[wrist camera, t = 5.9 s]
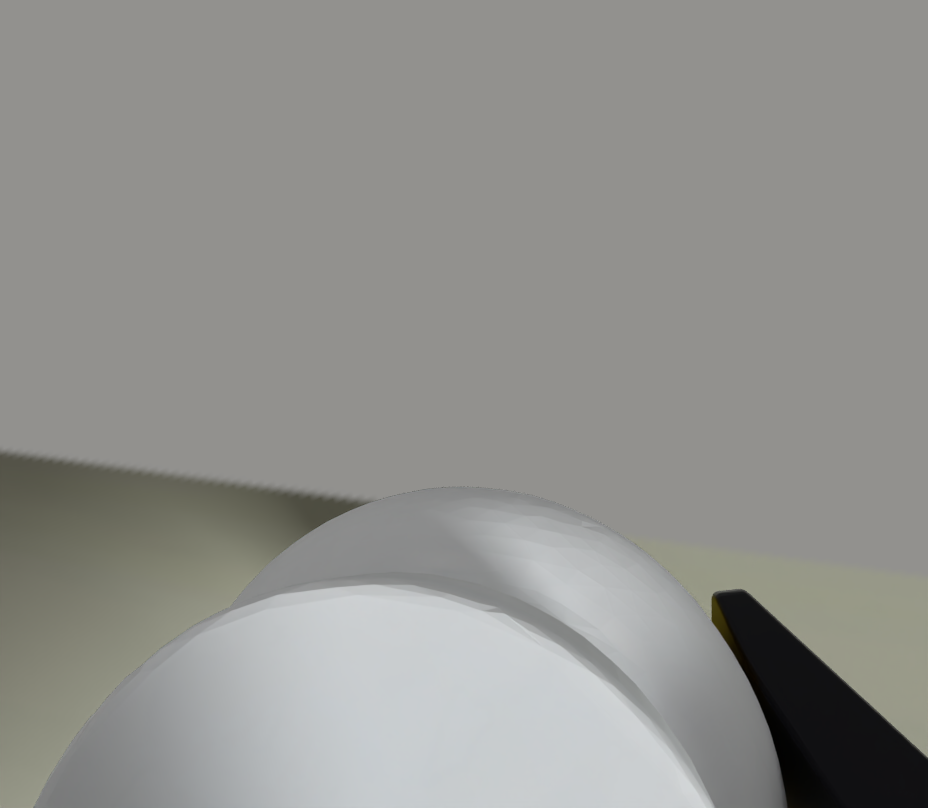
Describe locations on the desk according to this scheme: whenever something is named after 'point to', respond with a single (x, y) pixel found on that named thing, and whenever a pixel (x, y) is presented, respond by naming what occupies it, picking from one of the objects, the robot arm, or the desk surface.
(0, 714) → the desk surface
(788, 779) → the robot arm
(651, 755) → the supplement bottle
